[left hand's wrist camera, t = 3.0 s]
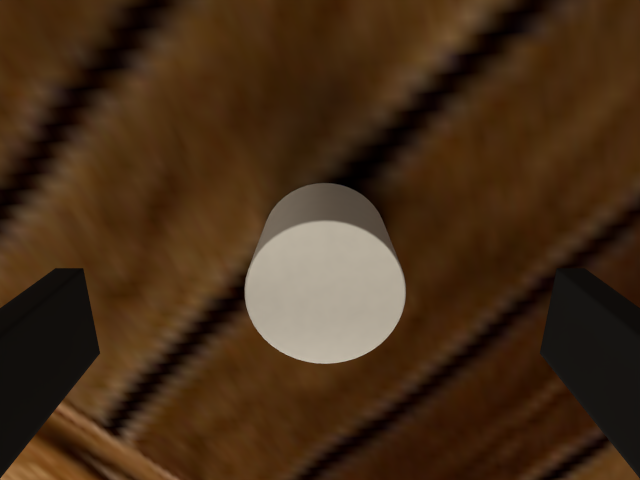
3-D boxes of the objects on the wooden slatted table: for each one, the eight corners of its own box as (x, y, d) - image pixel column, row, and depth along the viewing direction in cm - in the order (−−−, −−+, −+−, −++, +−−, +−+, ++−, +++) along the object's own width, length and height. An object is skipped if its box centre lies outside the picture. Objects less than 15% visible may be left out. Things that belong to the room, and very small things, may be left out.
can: (326, 318, 18) (327, 389, 14) (237, 244, 17) (211, 298, 13) (411, 241, 17) (439, 294, 13) (322, 155, 15) (323, 185, 12)
